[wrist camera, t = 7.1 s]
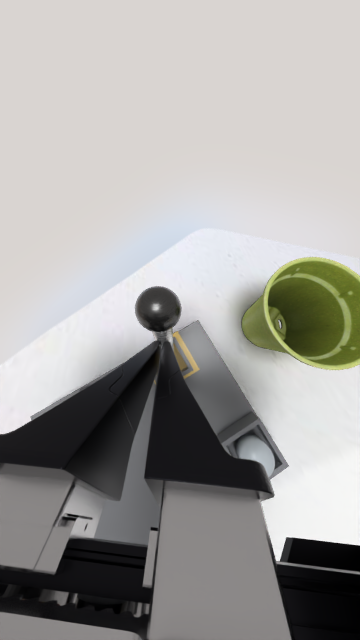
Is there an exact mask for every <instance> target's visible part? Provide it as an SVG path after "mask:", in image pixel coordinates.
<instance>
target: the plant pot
mask: <svg viewBox="0 0 360 640" xmlns="http://www.w3.org/2000/svg"><path fill="white" fill-rule="evenodd" d="M278 319H279V320H280V321H281V323H282V329H280V326H279V322H278ZM242 329H243V332H244V334H245V336H246V338H247V339H248V340H250V341H251V342H252V343H253V344H255V345H256V346H258V347H262V348H266V349H271V350H275V351H280V352H284V353H288V354H290V355H291V356H293V357H294V358H295V359H297V360H299V361H301V362H303V363H305V364H307V365H310V366H313V367H316V368H321V369H326V370H343V369H349V368H352V367H355V366H357V365H360V276H359V275H358V274H357V273H355V272H354V271H352V270H351V269H350V268H348V267H347V266H345V265H343V264H341V263H338V262H336V261H333V260H329V259H325V258H319V257H306V258H300V259H296V260H293V261H291V262H289V263H287V264H285V265H283V266H282V267H281V268H279V269H278V270H277V271H276V272H275V273H274V274H273V275H272V276H271V278H270V279H269V281H268V283H267V285H266V287H265V289H264V293H263V295H262V296H261V297H260V298H259V299H258V300H257V301H256V302H255V303H254V304H253V305H252V306H251V307H250V308H249V309H248V310H247V311H246V313H245V314H244V316H243V319H242Z"/></svg>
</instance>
